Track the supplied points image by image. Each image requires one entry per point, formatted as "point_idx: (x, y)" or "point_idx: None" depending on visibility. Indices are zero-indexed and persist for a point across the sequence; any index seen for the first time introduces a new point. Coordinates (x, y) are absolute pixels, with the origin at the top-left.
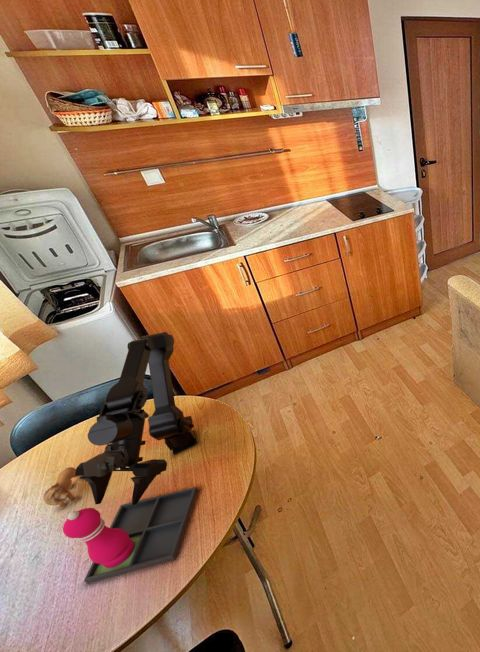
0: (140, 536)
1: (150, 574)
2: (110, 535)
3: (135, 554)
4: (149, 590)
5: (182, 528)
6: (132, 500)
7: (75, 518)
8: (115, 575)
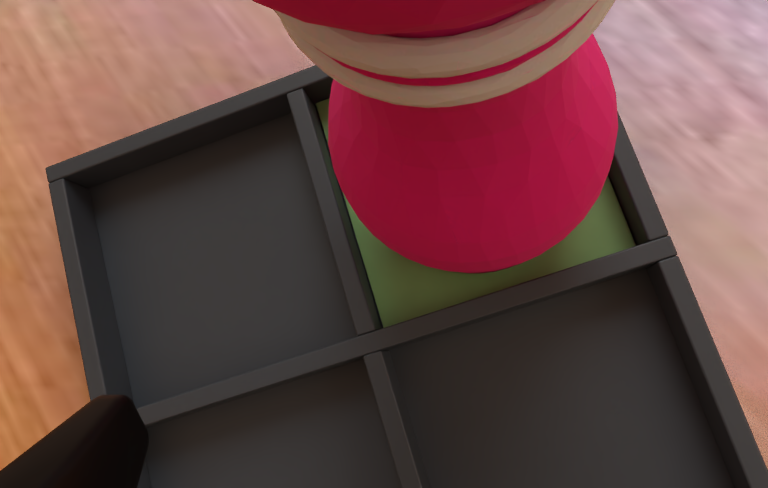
0: (407, 307)
1: (182, 93)
2: (351, 90)
3: (306, 159)
4: (135, 19)
5: (87, 361)
6: (76, 446)
7: None
8: None
